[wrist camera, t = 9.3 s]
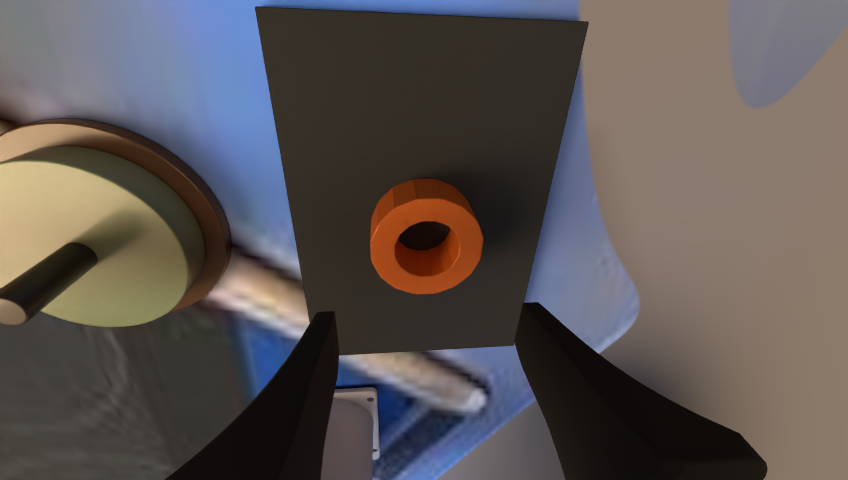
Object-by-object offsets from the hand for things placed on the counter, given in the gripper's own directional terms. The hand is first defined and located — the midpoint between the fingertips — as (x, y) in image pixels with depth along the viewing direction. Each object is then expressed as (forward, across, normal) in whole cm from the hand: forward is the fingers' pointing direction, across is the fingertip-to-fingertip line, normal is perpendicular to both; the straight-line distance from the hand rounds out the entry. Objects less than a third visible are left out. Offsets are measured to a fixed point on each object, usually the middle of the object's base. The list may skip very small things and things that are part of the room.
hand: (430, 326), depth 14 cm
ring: (+7, 0, 0) cm, 7 cm away
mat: (+8, 0, 0) cm, 8 cm away
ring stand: (+8, +16, 0) cm, 18 cm away
